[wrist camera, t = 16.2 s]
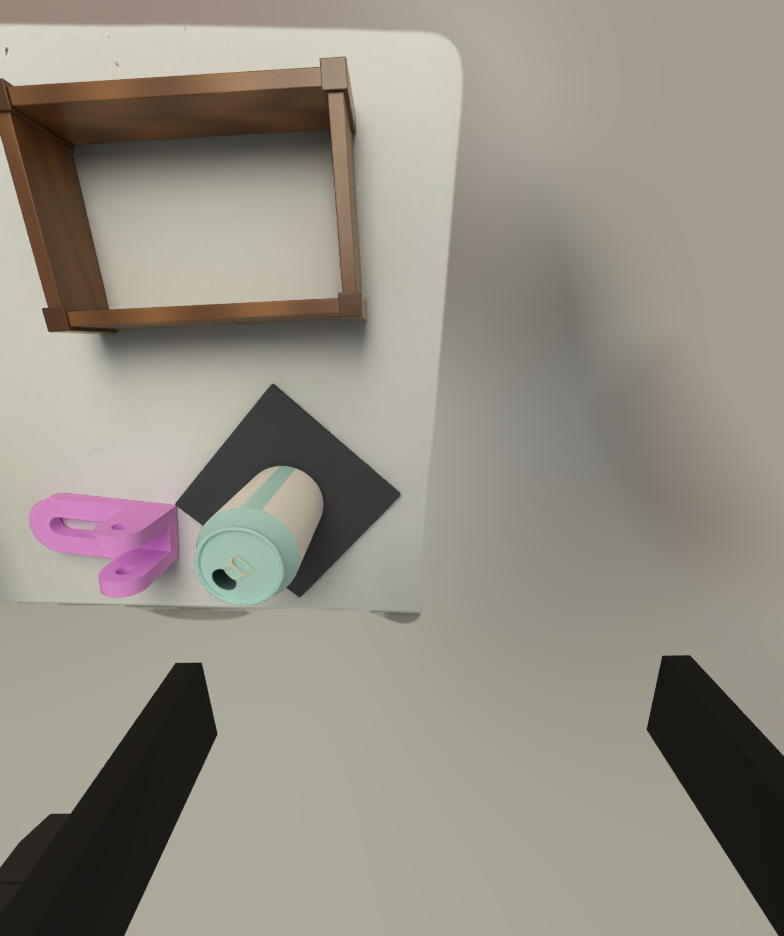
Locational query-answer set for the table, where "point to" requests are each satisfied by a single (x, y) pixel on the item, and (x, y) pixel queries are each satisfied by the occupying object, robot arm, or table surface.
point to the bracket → (112, 537)
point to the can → (259, 537)
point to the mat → (307, 449)
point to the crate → (166, 117)
